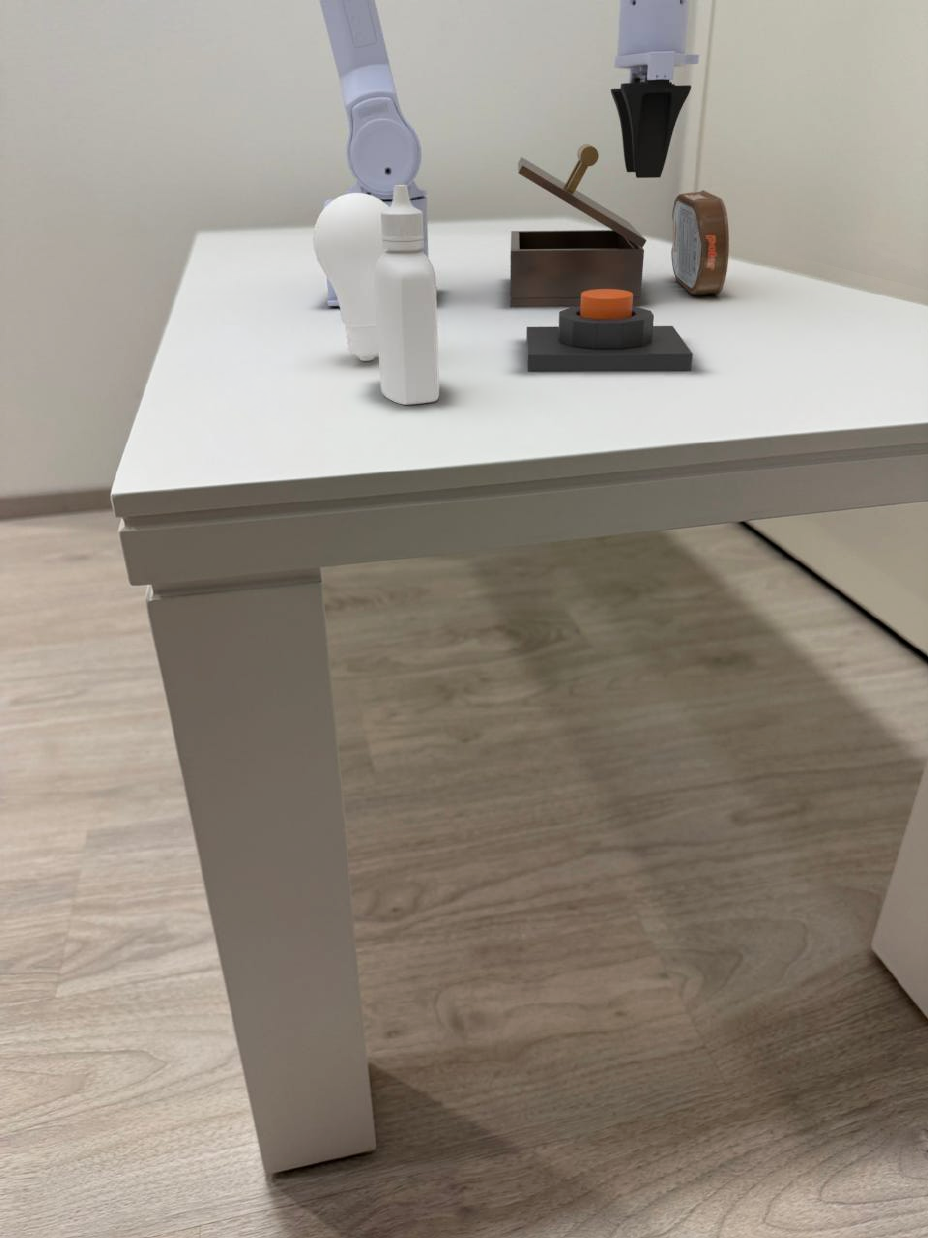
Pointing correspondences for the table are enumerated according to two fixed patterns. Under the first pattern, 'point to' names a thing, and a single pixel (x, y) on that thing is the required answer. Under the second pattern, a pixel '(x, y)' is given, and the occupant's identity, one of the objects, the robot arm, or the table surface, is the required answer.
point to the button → (606, 304)
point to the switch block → (606, 345)
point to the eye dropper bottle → (406, 307)
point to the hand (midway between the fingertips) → (642, 174)
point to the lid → (576, 199)
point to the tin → (700, 242)
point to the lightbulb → (353, 264)
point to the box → (571, 266)
